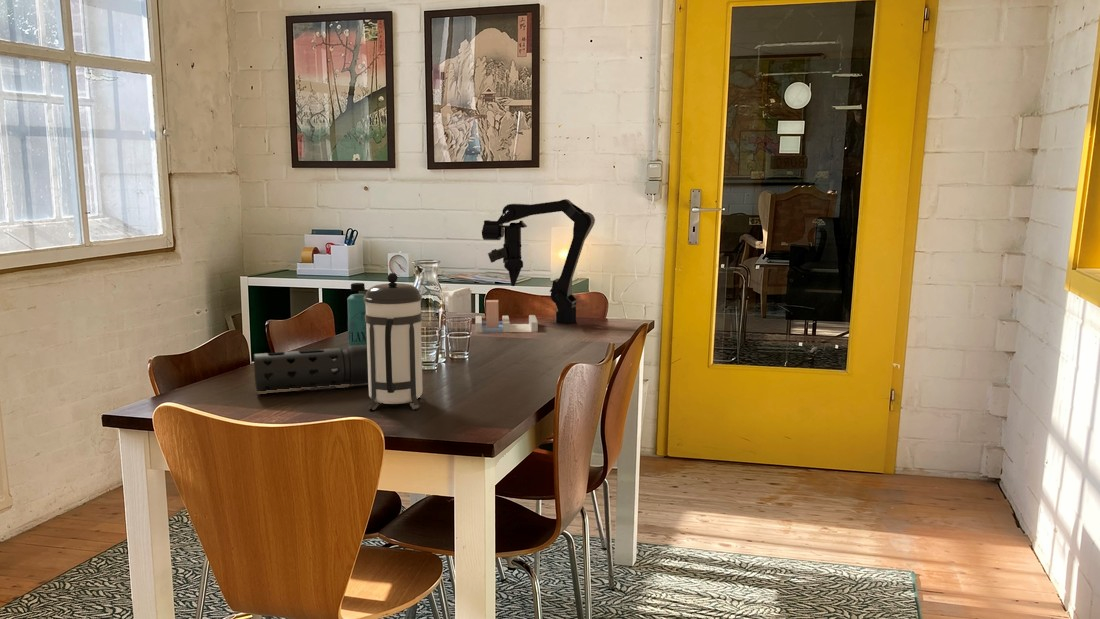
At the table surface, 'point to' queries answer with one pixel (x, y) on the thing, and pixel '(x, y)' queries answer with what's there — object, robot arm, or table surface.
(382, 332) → the coffee press
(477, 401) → the table surface
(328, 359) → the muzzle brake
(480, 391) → the table surface
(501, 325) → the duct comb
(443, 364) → the table surface
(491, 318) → the pinkish tan block
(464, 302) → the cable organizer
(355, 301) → the beverage bottle
